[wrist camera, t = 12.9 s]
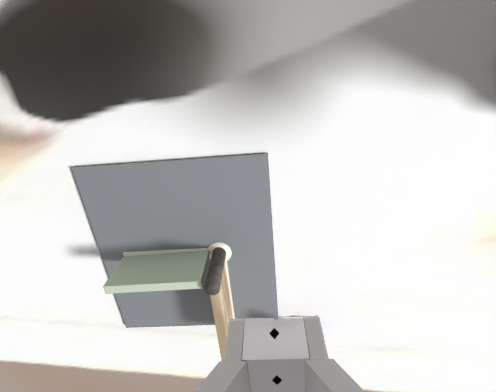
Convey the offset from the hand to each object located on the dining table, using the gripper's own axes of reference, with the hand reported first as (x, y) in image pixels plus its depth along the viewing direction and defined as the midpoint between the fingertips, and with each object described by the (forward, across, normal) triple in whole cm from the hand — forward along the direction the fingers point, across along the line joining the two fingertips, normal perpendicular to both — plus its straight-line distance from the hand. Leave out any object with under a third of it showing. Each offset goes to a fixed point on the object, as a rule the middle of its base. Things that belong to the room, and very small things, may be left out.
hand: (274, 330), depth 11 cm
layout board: (+31, +13, +18) cm, 38 cm away
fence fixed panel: (+31, +8, +25) cm, 40 cm away
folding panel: (+30, +16, +18) cm, 39 cm away
